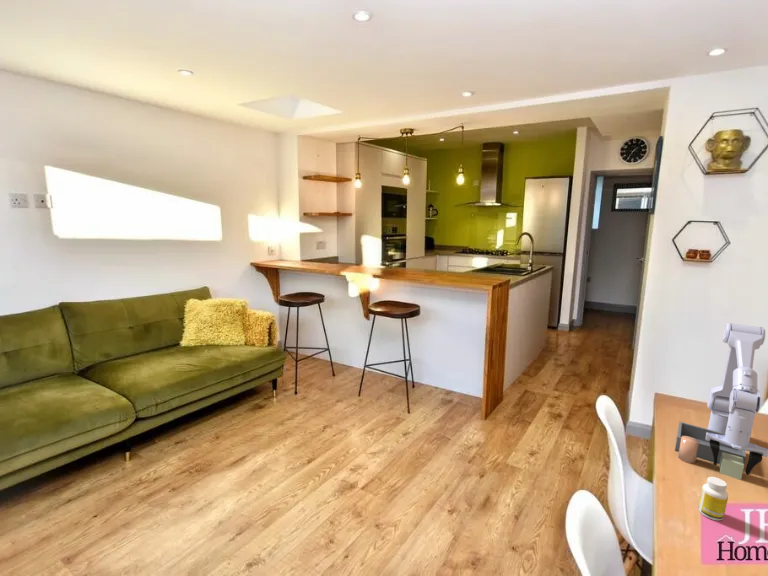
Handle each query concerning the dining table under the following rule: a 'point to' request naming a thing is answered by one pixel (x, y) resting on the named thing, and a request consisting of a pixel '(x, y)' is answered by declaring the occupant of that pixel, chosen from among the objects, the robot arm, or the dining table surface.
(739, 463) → the green block
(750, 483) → the dining table surface
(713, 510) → the supplement bottle
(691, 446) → the terracotta cylinder
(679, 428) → the tote
